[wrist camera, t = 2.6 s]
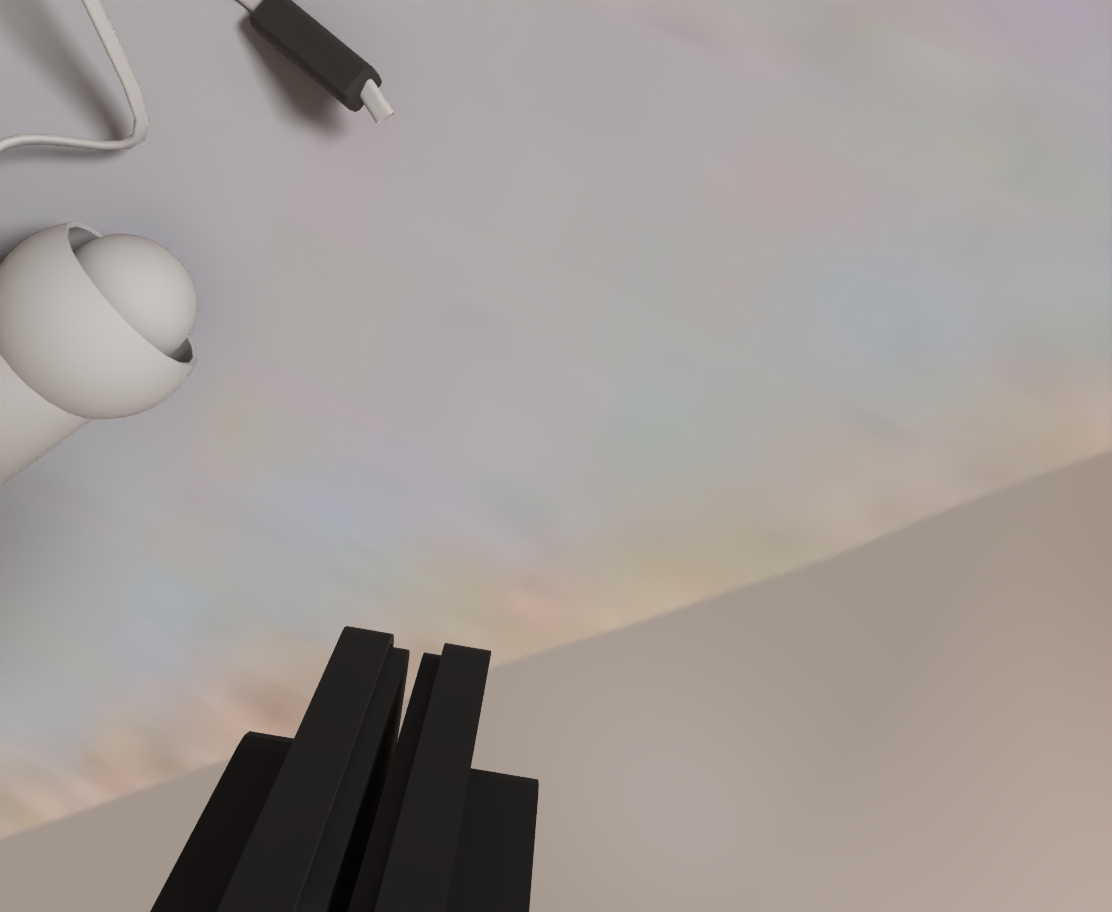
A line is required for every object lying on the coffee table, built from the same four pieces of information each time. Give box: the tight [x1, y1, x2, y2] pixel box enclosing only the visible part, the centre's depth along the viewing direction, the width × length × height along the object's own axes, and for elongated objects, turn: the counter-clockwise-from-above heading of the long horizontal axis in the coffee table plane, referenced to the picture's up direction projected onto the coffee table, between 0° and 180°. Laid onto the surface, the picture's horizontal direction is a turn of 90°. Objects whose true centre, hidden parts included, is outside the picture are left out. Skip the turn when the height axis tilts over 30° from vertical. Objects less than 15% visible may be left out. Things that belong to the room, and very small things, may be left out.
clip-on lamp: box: [0, 0, 394, 486], centre depth 24 cm, size 12×6×18 cm
